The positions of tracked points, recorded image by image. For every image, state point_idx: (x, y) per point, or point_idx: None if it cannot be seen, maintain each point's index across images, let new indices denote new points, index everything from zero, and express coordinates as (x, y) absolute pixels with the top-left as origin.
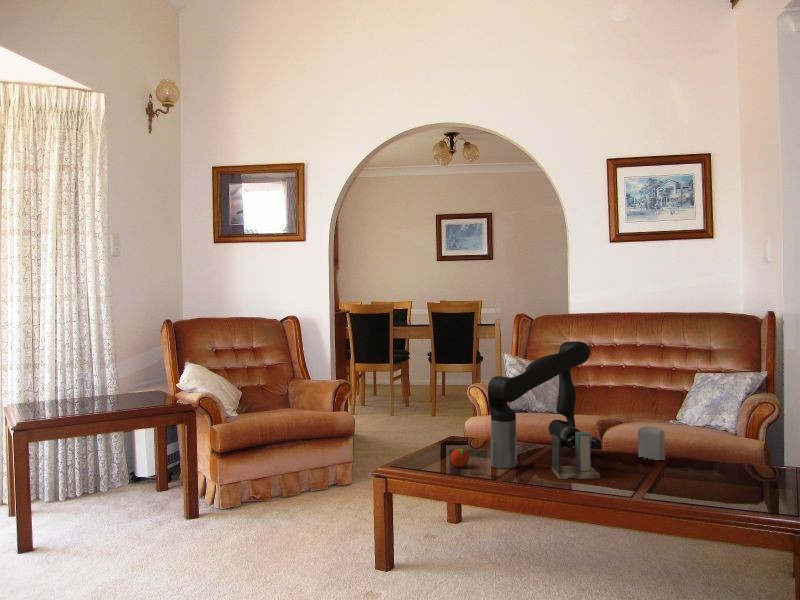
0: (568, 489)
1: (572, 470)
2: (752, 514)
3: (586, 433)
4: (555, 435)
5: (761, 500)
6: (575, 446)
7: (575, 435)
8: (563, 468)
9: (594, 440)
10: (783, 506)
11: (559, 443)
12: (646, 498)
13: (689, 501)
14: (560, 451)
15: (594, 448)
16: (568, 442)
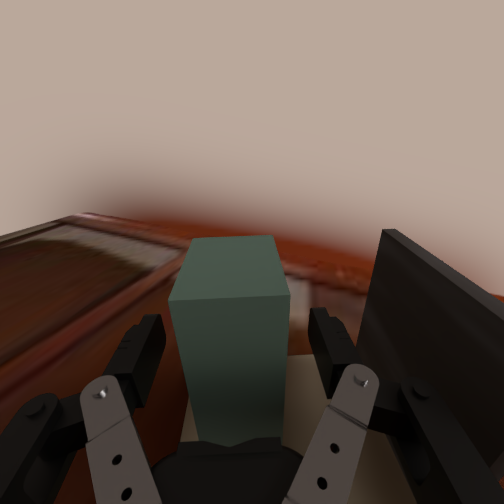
0: (316, 282)
1: (303, 421)
2: (94, 221)
3: (207, 252)
4: (472, 292)
5: (5, 247)
6: (284, 395)
7: (287, 317)
8: (357, 476)
9: (98, 384)
10: (15, 234)
11: (382, 250)
12: (179, 250)
13: (122, 243)
14: (370, 286)
15: (162, 351)
16: (347, 364)
